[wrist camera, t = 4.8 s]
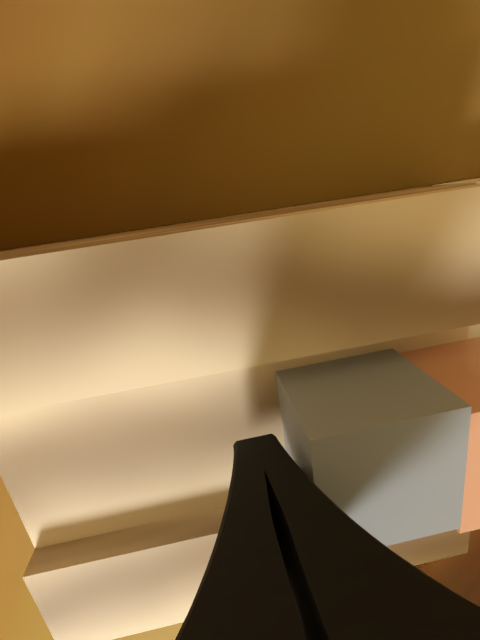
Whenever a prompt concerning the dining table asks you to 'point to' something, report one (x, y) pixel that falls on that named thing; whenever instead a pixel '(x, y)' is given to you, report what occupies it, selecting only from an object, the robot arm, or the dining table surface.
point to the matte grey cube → (379, 442)
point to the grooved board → (197, 378)
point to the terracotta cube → (475, 389)
